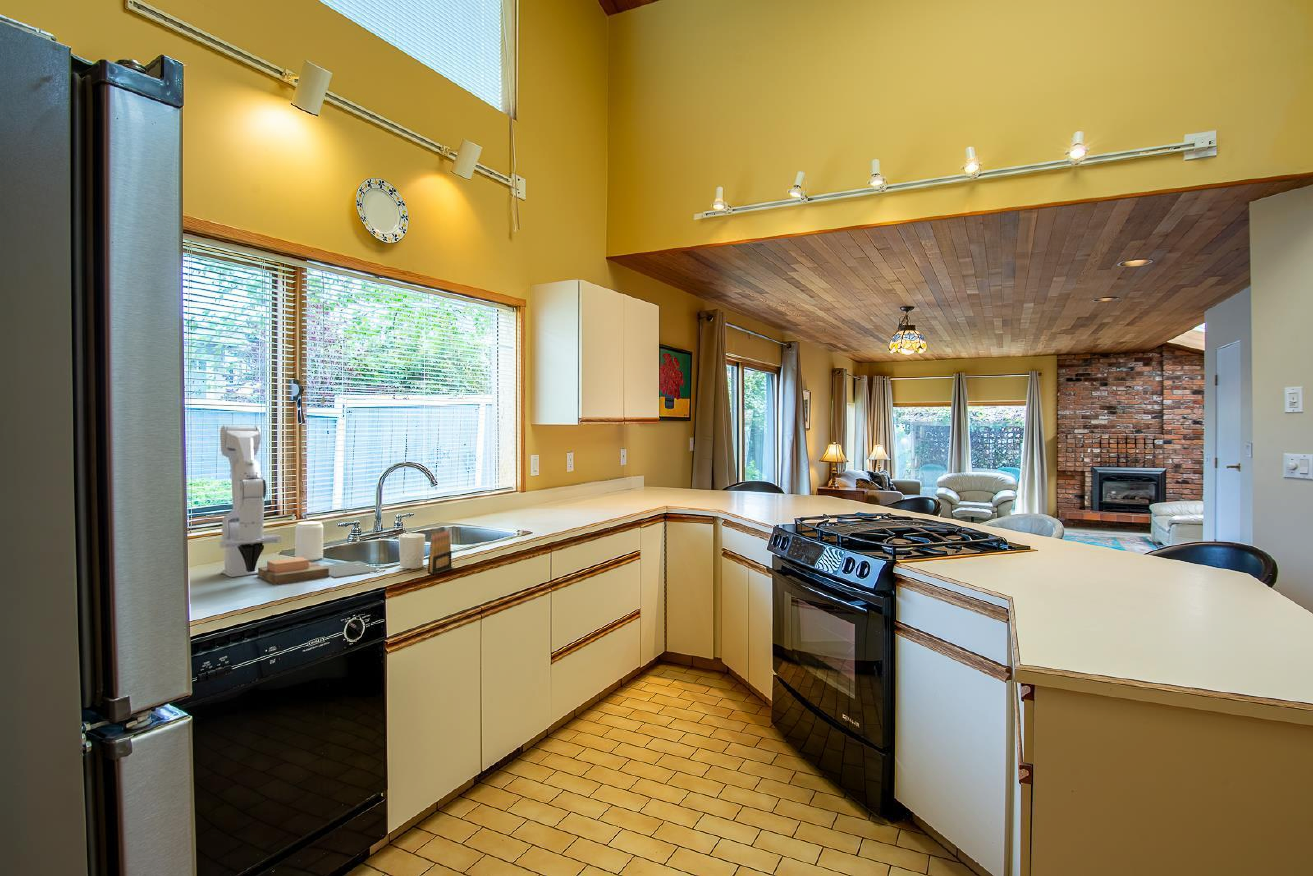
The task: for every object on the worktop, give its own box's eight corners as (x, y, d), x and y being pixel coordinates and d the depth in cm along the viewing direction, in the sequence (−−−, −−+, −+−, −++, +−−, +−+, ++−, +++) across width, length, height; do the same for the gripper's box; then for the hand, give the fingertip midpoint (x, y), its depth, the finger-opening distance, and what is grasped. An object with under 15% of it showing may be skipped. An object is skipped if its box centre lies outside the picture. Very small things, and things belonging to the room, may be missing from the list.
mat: (309, 568, 201) (309, 567, 201) (358, 562, 212) (358, 560, 212) (334, 578, 189) (334, 577, 189) (385, 570, 200) (385, 569, 200)
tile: (266, 569, 187) (267, 561, 187) (300, 565, 194) (300, 556, 194) (274, 572, 183) (274, 564, 183) (308, 568, 190) (308, 559, 190)
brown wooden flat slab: (258, 576, 189) (258, 567, 189) (309, 569, 200) (309, 561, 200) (275, 584, 180) (276, 575, 180) (328, 576, 190) (328, 568, 190)
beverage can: (303, 562, 209) (304, 525, 209) (289, 559, 214) (290, 522, 213) (327, 559, 216) (328, 522, 216) (314, 556, 220) (315, 520, 220)
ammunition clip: (433, 573, 197) (434, 534, 197) (427, 573, 198) (428, 533, 198) (451, 566, 208) (452, 529, 208) (446, 566, 208) (447, 528, 208)
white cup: (398, 570, 201) (399, 537, 201) (397, 565, 208) (398, 534, 208) (425, 568, 205) (426, 536, 204) (423, 563, 212) (424, 532, 212)
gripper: (225, 526, 173) (224, 577, 173) (285, 521, 184) (284, 569, 184) (217, 523, 178) (216, 573, 178) (276, 518, 189) (275, 565, 189)
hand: (250, 571), depth 181 cm, fingers closed
